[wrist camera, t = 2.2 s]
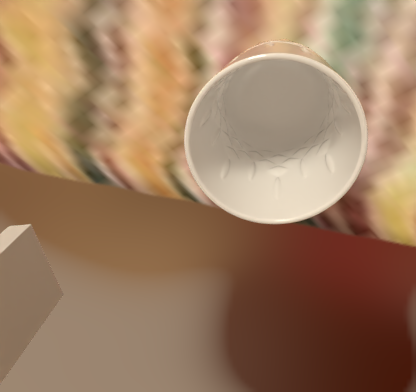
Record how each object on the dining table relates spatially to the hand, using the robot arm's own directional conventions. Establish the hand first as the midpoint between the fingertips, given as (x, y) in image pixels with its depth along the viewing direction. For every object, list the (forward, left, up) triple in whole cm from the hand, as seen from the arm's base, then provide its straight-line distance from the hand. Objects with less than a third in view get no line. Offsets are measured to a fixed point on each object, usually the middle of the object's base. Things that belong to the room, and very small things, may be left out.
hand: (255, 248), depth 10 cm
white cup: (0, 0, -18) cm, 18 cm away
